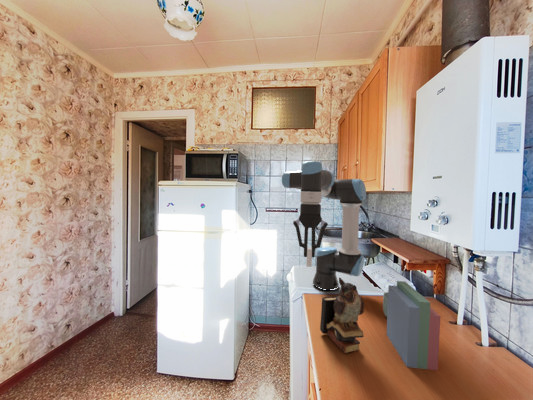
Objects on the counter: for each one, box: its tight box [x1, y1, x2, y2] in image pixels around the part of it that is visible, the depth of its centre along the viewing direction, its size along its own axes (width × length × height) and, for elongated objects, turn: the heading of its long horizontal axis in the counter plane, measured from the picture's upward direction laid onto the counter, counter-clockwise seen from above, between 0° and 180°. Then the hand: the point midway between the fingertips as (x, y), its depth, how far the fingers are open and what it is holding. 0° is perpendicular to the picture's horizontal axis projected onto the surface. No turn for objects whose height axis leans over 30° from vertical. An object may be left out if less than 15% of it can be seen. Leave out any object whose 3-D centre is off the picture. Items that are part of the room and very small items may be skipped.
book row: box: [386, 280, 441, 371], centre depth 75 cm, size 16×9×22 cm, turn 171°
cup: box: [382, 291, 388, 318], centre depth 95 cm, size 8×8×10 cm
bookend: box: [319, 277, 365, 354], centre depth 79 cm, size 15×11×25 cm
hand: (308, 265), depth 80 cm, fingers closed
